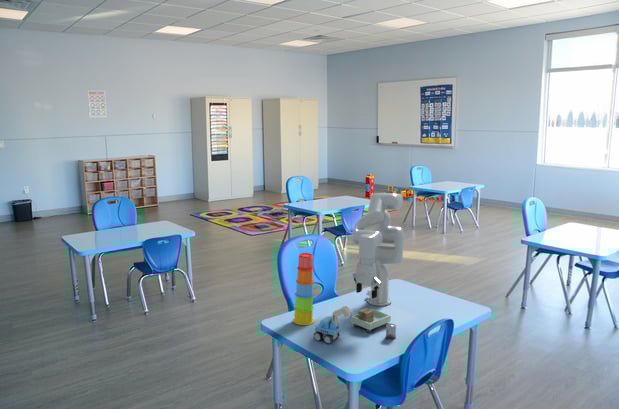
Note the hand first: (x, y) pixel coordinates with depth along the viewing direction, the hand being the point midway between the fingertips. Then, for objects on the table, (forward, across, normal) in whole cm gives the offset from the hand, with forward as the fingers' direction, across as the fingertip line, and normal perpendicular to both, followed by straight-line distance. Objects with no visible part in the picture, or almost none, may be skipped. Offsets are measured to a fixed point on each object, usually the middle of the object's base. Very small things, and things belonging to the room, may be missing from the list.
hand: (366, 294), depth 238 cm
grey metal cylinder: (+16, +16, 0) cm, 23 cm away
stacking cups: (+17, -25, -18) cm, 36 cm away
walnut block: (+14, 0, -1) cm, 14 cm away
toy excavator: (+16, 0, -22) cm, 28 cm away
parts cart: (+16, +1, +2) cm, 17 cm away
